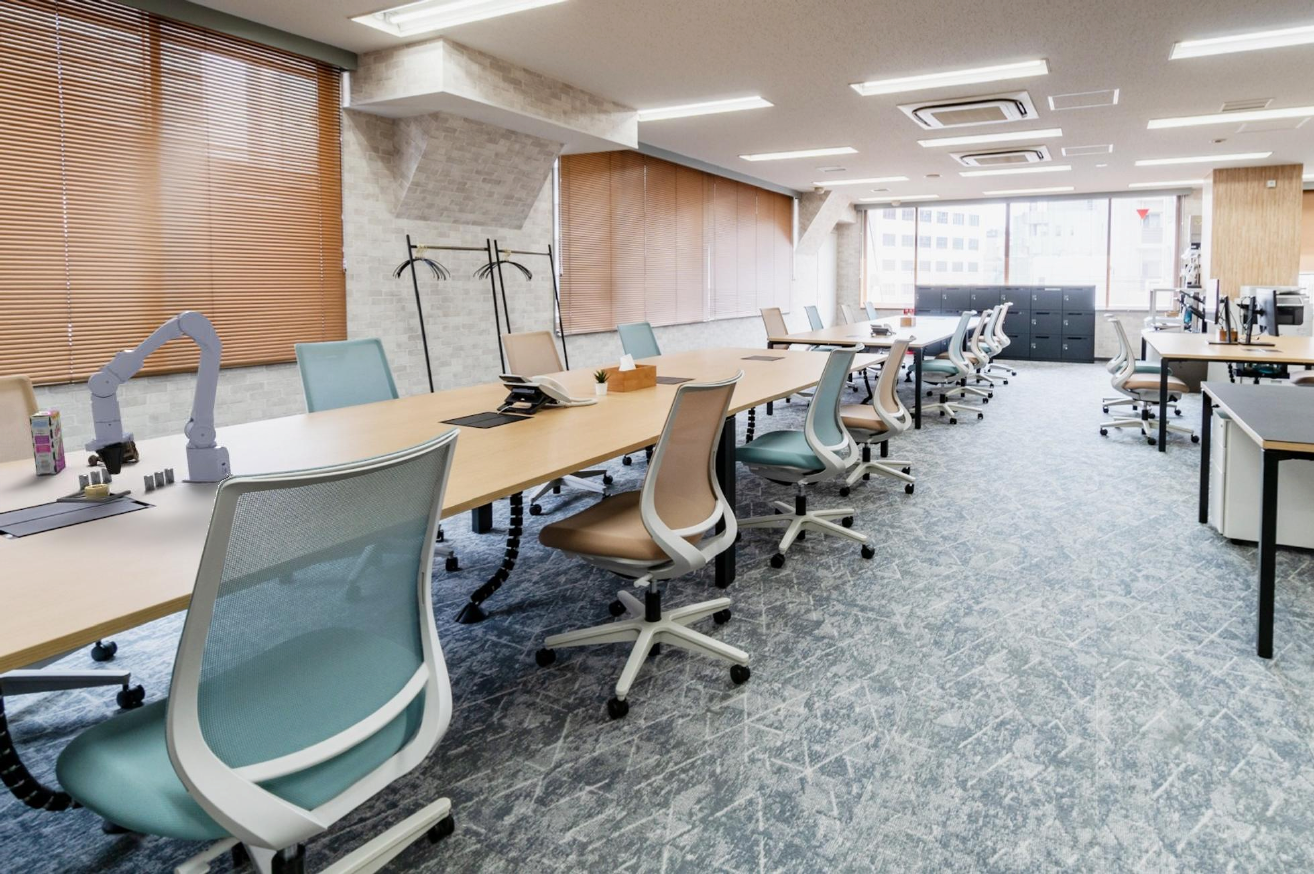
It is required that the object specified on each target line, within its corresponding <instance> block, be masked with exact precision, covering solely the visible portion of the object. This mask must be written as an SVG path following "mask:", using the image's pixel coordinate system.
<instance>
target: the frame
mask: <svg viewBox="0 0 1314 874" xmlns="http://www.w3.org/2000/svg"><path fill="white" fill-rule="evenodd" d="M131 493H132V492H131V490H124V491H121V492H118V493H116V494H113V495H109V496H107V497H103V498H97V499H96V498H86V497H84V498H80V497H79V498H78V496H82V495H85V490H79V491H77V492H73V493H71V494H68V495H65V496H61V497H59V498H56V502H61V503H63V502H64V503H65V502H66V503H67V502H70V503H72V502H73V503H106V502H110V501H112V500H115V499H118V498H121V497H123V496H126V495H128V494H129V495H130V494H131ZM76 497H77V498H76Z"/></svg>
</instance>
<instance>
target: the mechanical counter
mask: <svg viewBox="0 0 1314 874" xmlns="http://www.w3.org/2000/svg"><path fill="white" fill-rule="evenodd" d="M121 444H127V447H128V448H127V450H126V452H125V454H124V457H123V460H122V464H123V463H126V462H130V461H133V460H135V462H136V463H138V462H139V459H140V453H139V450H138V449H137V447H136V446H137V445H136V442H135V440H133V441H127V442H123V443H121ZM87 463H88V464H89V465H90V466H96V465H97V464H98V463H103V464H104V462H103V461H102V459H101V458H100V457H99V455H95V454H91V455H90V456H89V457H88V459H87Z"/></svg>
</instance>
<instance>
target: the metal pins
mask: <svg viewBox="0 0 1314 874" xmlns="http://www.w3.org/2000/svg"><path fill="white" fill-rule="evenodd" d="M163 470H164V471H154V472H153V473H154V474H148V475H144V476H143V481H144V489H145V491H153V490H155V488H156V487H157V488H158V487H159V488H160V487H164V486H165V484H172V483H174V482H175V476H174V475H175V474H174V473H175V472H174V468H171V467H168V468H164V469H163ZM100 471H101V473H100ZM89 472H90V473H89V474H90V476H89V474H79V475H78V483H79V489H80V490H79V491H83V490H85V488H86V486H91V485H97V484H102V483H109V482H110V483H111V482H113V478H112V476H113V475H109V473H108V471H107V468H106V467H103V468H101V470H95V471H89ZM89 477H90V478H89ZM101 477H102V480H101ZM89 479H90V480H91V485H90V480H89ZM101 481H102V482H101Z"/></svg>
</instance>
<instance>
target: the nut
mask: <svg viewBox="0 0 1314 874" xmlns="http://www.w3.org/2000/svg"><path fill="white" fill-rule="evenodd" d="M110 494H111V493H110V485H109V484H107V483H106V484H103V483H101V484H97V485H92V484H91V485H90V486H86V488H85V494H84V495H85V498H95V499H103V498H107V497H110Z"/></svg>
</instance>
